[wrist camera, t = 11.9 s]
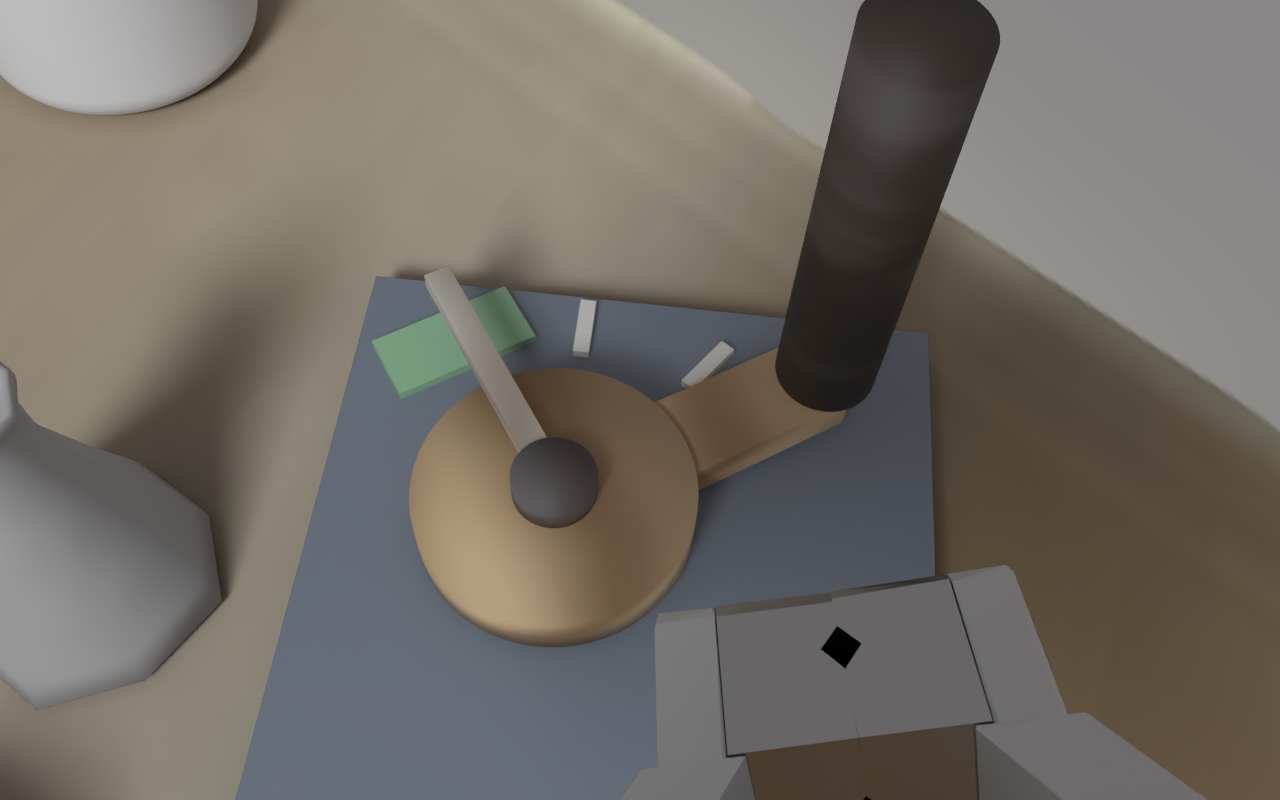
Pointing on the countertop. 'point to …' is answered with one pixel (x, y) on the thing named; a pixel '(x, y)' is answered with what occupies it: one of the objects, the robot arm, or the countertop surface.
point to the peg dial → (715, 408)
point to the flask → (91, 563)
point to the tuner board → (551, 676)
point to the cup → (119, 50)
